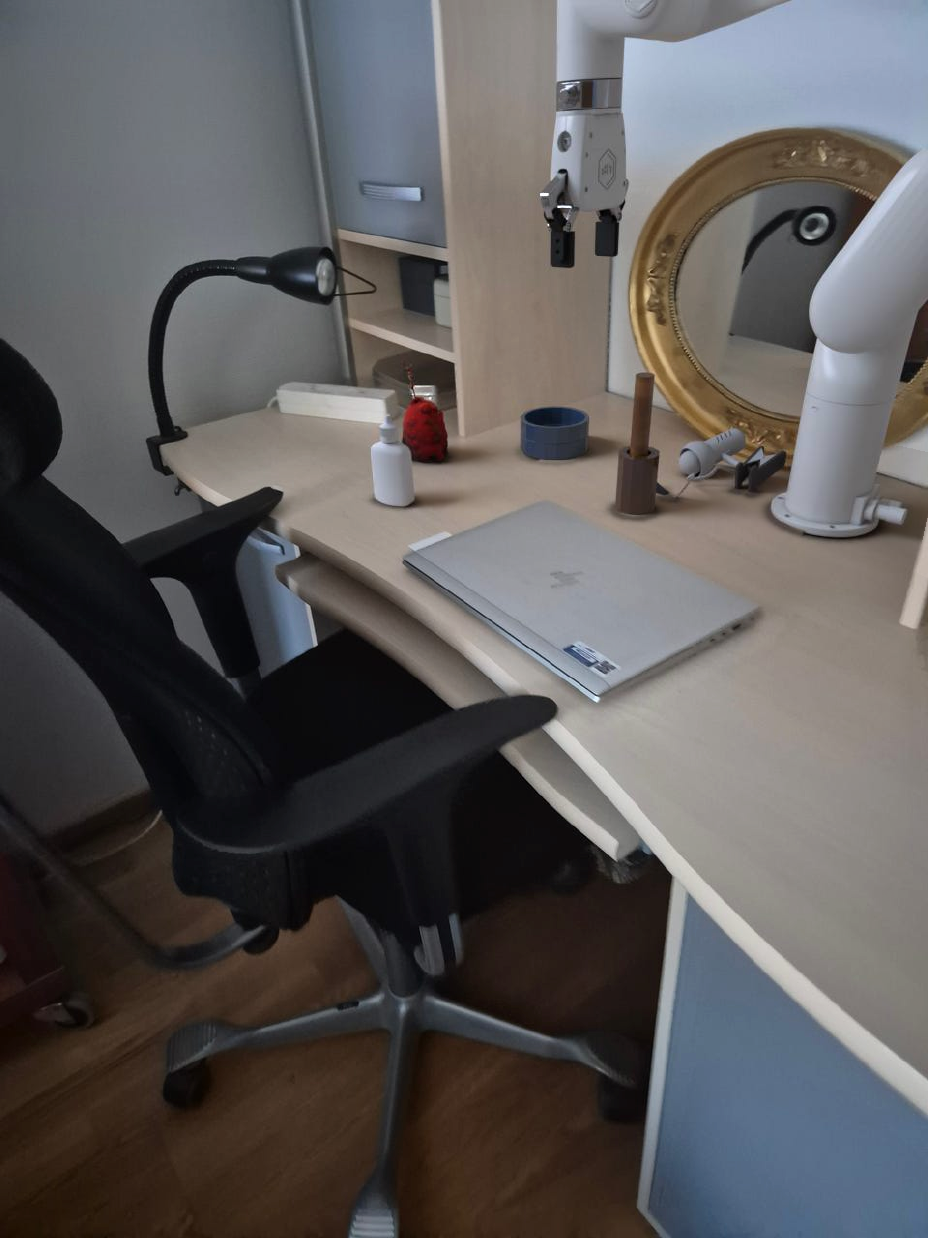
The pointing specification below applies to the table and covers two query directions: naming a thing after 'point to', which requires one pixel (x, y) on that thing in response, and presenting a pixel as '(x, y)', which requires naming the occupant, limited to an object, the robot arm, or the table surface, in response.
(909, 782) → the table surface
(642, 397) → the stick
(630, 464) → the holder
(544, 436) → the bowl
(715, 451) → the clip-on lamp
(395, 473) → the eye dropper bottle
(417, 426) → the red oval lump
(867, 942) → the table surface
